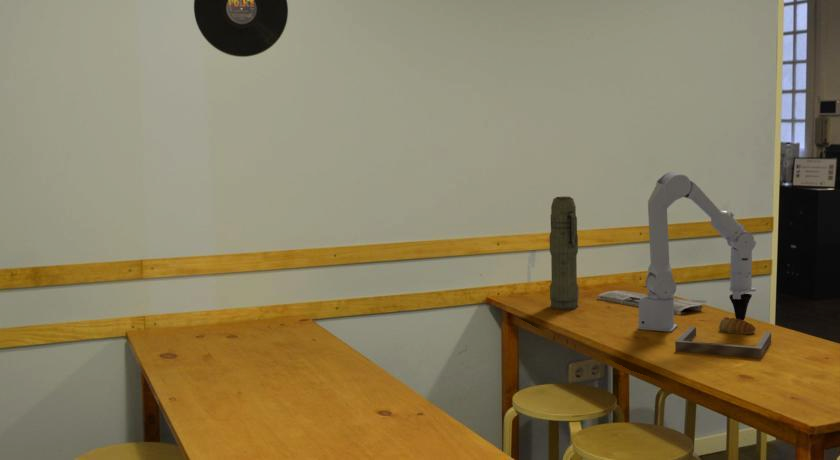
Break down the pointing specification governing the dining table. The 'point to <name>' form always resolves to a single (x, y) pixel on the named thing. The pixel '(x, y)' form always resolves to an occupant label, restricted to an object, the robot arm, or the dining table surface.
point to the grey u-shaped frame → (721, 346)
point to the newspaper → (634, 298)
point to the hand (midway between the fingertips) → (740, 319)
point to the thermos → (564, 254)
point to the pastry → (736, 326)
